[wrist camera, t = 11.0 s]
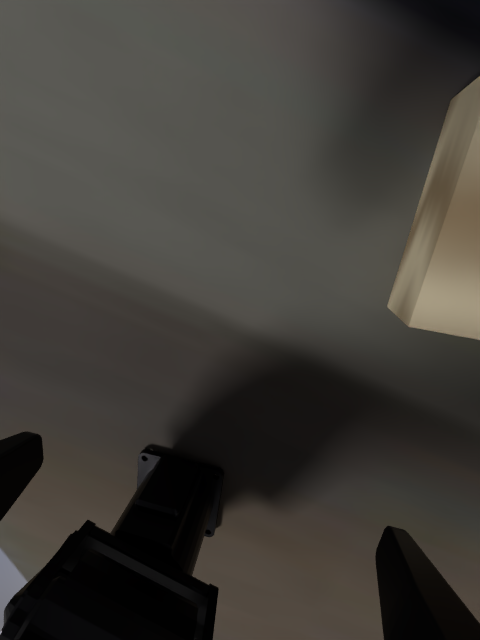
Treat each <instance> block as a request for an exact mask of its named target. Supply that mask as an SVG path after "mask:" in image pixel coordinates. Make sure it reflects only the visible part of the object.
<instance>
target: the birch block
mask: <svg viewBox="0 0 480 640" xmlns="http://www.w3.org/2000/svg"><path fill="white" fill-rule="evenodd" d="M387 307H388V308H389V309H390V310H391V311H392V312H393V313H394V314H395V315H396V316H397V317H398V318H400V319H401V320H402V321H403V322H404V323H405V324H406V325H407V326H408V327H413V328H418V329H424V330H429V331H435V332H440V333H445V334H451V335H456V336H461V337H467V338H472V339H478V340H480V76H479V77H478V78H477V79H475V80H474V81H473V82H472V83H471V84H469V85H468V86H467V87H466V88H464V89H463V90H462V91H461V92H460V93H458V94H457V95H456V96H455V97H454V98H452V99H451V101H450V105H449V108H448V111H447V114H446V118H445V121H444V124H443V127H442V131H441V134H440V137H439V140H438V144H437V147H436V150H435V153H434V157H433V160H432V163H431V166H430V169H429V173H428V176H427V179H426V182H425V186H424V189H423V192H422V195H421V199H420V202H419V205H418V208H417V212H416V215H415V218H414V221H413V225H412V228H411V231H410V234H409V237H408V241H407V244H406V247H405V250H404V254H403V257H402V260H401V263H400V267H399V270H398V273H397V276H396V280H395V283H394V286H393V289H392V293H391V296H390V299H389V302H388V305H387Z"/></svg>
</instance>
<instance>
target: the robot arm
mask: <svg viewBox="0 0 480 640" xmlns="http://www.w3.org/2000/svg"><path fill="white" fill-rule="evenodd" d="M145 456H146V457H145ZM42 463H43V446H42V438H41V436H40V435H39V434H35V433H32V432H22V433H19V434H16V435H13V436H11V437H8V438H5V439H3V440H0V521H1V520H2V518H3V517H4V516H5V514H6V513H7V512H8V510H9V509H10V508H11V506H12V505H13V504H14V502H15V501H16V500H17V498H18V497H19V496H20V494H21V493H22V492H23V490H24V489H25V488H26V486H27V485H28V484H29V482H30V481H31V480H32V478H33V477H34V476H35V474H36V473H37V471H38V470H39V469H40V467H41V465H42ZM215 474H217V475H218V476H217V475H215ZM223 476H224V472H223V470H222V469H220V468H218V467H214V466H210V465H206V464H202V463H199V462H195V461H191V460H187V459H183V458H179V457H175V456H171V455H167V454H163V453H159V452H155V451H152V450H148V449H144V450H142V451H141V453H140V454H139V456H138V479H137V491H136V492H135V494H134V495H133V497H132V499H131V500H130V502H129V504H128V505H127V507H126V509H125V510H124V512H123V513H122V515H121V517H120V518H119V520H118V522H117V523H116V525H115V527H114V528H113V530H112V531H111V533H108V532H106V531H105V530H103V529H101V528H99V527H97V526H95V525H96V524H95V523H93V522H91V521H90V520H87V521H86V522H85V523H84V525H83V526H82V527H81V528H80V529H79V530H78V531H75V532H74V533H73V534H70V535H69V537H68V538H67V539H66V541H65V542H64V544H63V545H62V546H61V548H60V549H59V550H58V552H57V553H56V554H55V555H54V556H53V558H52V559H51V560H50V561H49V562H48V563H47V565H46V566H45V567H44V568H43V569H42V570H41V571H40V572H39V573H37V574H36V575H35V576H34V577H33V578H32V579H31V580H30V581H29V582H28V583H27V584H26V585H25V586H24V587H23V588H22V589H21V590H20V591H19V592H17V593H16V594H15V595H14V596H13V598H12V599H11V600H10V602H9V603H8V604H7V606H6V608H5V610H4V626H3V628H2V630H1V632H0V640H213V631H214V623H215V614H216V606H217V597H218V587H216V586H214V585H212V584H209V585H208V584H206V583H204V582H202V581H200V580H198V579H196V578H194V577H193V576H192V574H193V571H194V567H195V564H196V561H197V557H198V554H199V551H200V548H201V544H202V541H203V538H204V536H207V537H212V536H213V535H214V533H215V529H216V522H217V516H218V509H219V503H220V496H221V490H222V483H223ZM376 569H377V579H378V588H379V597H380V607H381V616H382V626H383V634H384V640H480V623H479V622H478V621H477V620H476V618H475V617H474V616H473V614H472V613H471V612H470V611H469V609H468V608H467V607H466V606H465V604H464V603H463V602H462V601H461V599H460V598H459V597H458V595H457V594H456V593H455V592H454V590H453V589H452V588H451V587H450V585H449V584H448V583H447V582H446V580H445V579H444V578H443V576H442V575H441V574H440V573H439V571H438V570H437V569H436V568H435V566H434V565H433V564H432V563H431V561H430V560H429V559H428V557H427V556H426V555H425V554H424V552H423V551H422V550H421V549H420V547H419V546H418V545H417V544H416V542H415V541H414V540H413V538H412V537H411V536H410V535H409V534H408V533H407V532H406V531H405V530H403V529H399V528H396V527H392V526H387V527H386V528H385V529H384V532H383V534H382V537H381V539H380V542H379V544H378V547H377V550H376Z"/></svg>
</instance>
